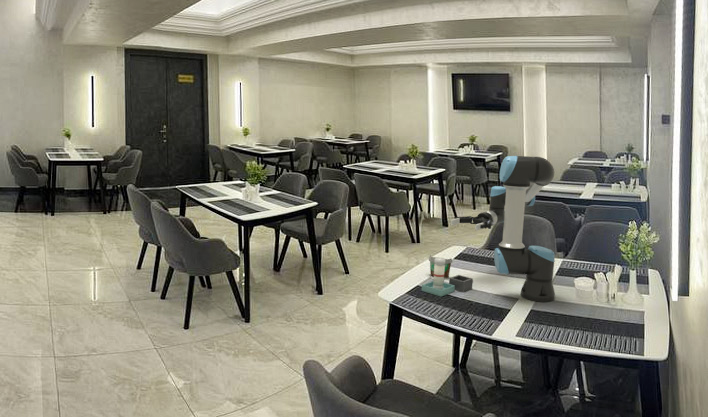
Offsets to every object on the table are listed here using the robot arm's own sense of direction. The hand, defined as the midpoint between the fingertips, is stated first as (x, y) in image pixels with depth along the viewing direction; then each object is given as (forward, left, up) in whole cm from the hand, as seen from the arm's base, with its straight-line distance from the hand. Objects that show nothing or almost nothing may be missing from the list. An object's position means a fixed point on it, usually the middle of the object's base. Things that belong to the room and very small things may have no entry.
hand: (463, 225), depth 279 cm
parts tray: (+2, +15, -30) cm, 34 cm away
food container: (+15, -3, -30) cm, 34 cm away
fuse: (+2, +15, -29) cm, 33 cm away
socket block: (-3, +4, -30) cm, 30 cm away
